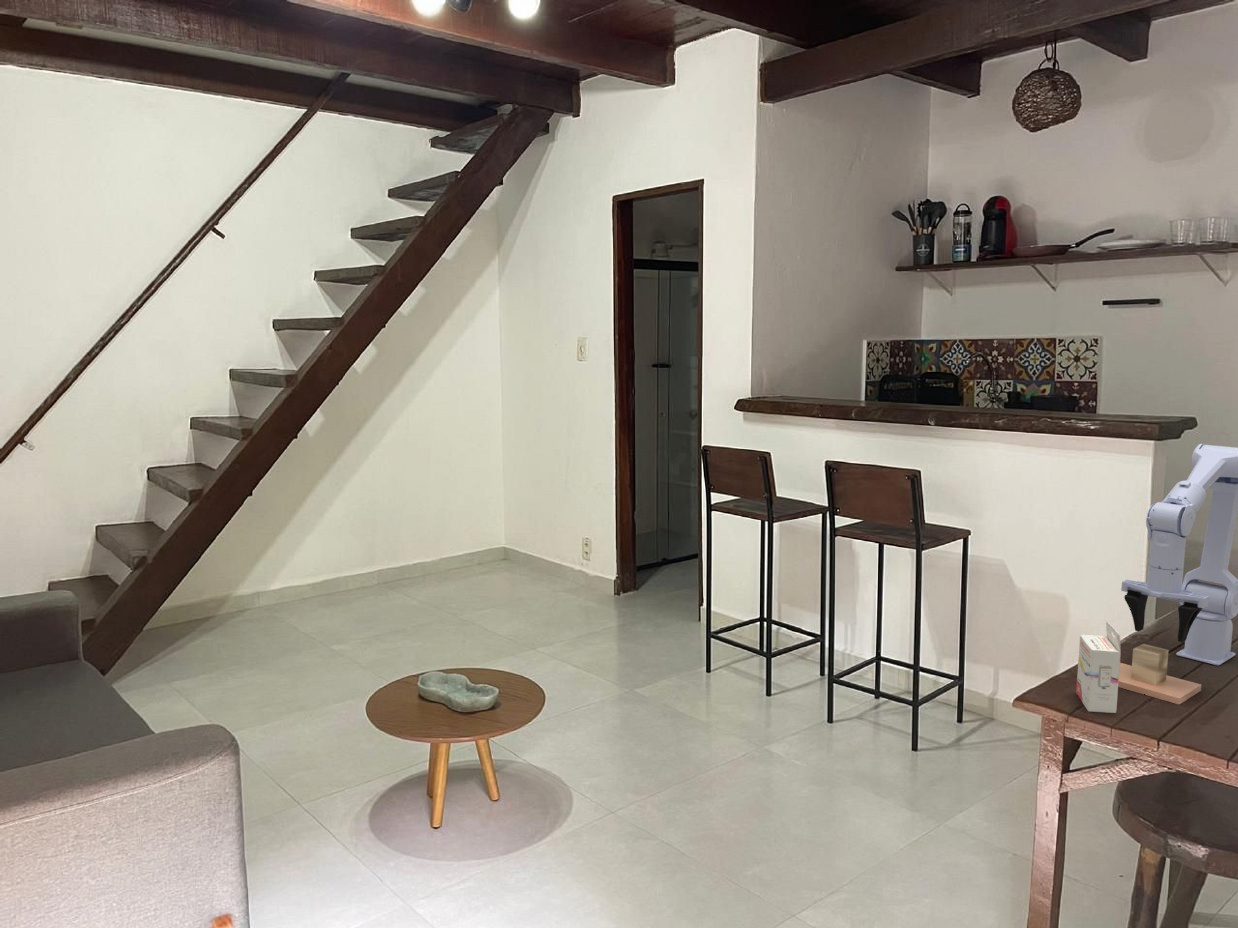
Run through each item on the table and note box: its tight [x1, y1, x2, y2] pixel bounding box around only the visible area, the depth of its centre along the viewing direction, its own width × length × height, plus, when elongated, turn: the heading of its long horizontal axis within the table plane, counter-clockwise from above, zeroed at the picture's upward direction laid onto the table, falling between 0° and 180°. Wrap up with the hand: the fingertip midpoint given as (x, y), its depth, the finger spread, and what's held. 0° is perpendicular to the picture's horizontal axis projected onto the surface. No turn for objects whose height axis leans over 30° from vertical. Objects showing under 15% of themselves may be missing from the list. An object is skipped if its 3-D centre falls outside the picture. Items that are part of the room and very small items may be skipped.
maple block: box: [1131, 643, 1169, 686], centre depth 178 cm, size 4×4×6 cm
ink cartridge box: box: [1075, 620, 1122, 714], centre depth 169 cm, size 9×5×15 cm, turn 168°
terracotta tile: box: [1118, 662, 1202, 705], centre depth 178 cm, size 10×15×1 cm, turn 39°
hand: (1160, 635), depth 177 cm, fingers open, 7 cm apart
